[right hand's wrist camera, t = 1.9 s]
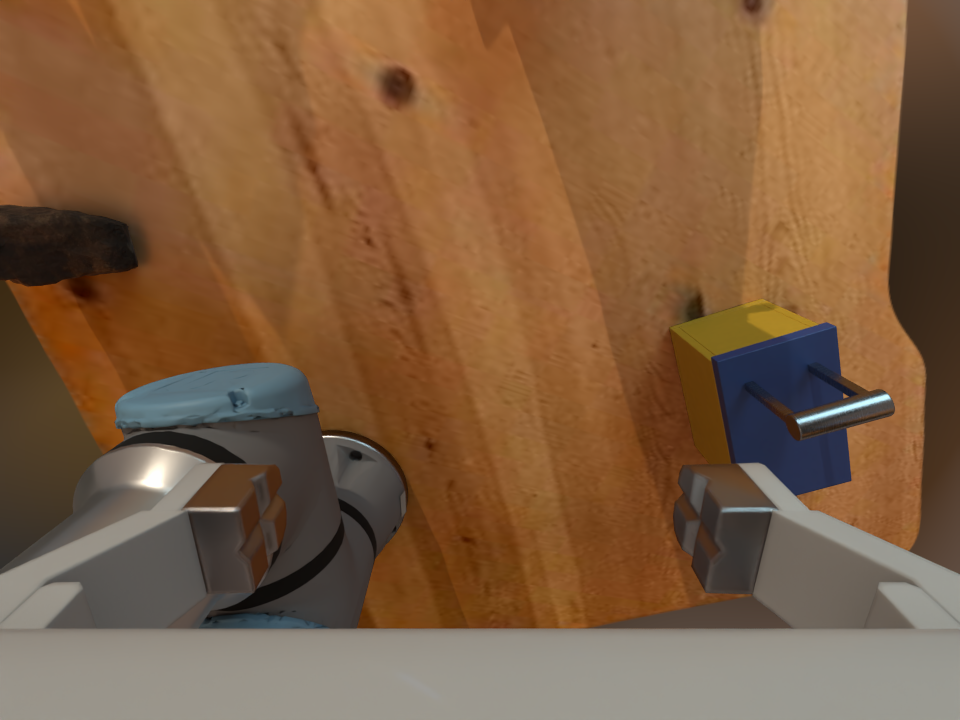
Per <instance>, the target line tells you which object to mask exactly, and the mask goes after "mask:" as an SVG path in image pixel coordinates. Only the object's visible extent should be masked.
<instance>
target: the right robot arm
mask: <svg viewBox="0 0 960 720" xmlns="http://www.w3.org/2000/svg"><path fill="white" fill-rule="evenodd" d="M281 484H282V479H281V474H280V469H279V468H278V467H277V466H276V465H275V464H242V463H226V464H225V463H201V464H196V465H195V466H194V467H193V468H192V469H191V470H190V471H189V472H188V473H187V474H186V475H185V476H184V477H183V478H182V479H181V480H180V481H179V482H178V483H177V484H176V485H175V486H174V487H173V488H172V489H171V490H170V491H169V492H168V493H167V494H166V495H165V496H164V497H163V498H162V499H161V500H160V501H159V502H158V503H157V504H156V505H155V506H154V507H153V508H152V509H151V510H150V511H140V512H138V513H136V514H133V515H131V516H129V517H127V518H124V519H122V520H120V521H118V522H116V523H113V524H111V525H109V526H107V527H104V528H102V529H100V530H98V531H95V532H93V533H91V534H89V535H87V536H84V537H82V538H80V539H78V540H75V541H73V542H71V543H69V544H67V545H64V546H62V547H60V548H58V549H55V550H53V551H51V552H49V553H47V554H44V555H42V556H40V557H38V558H35V559H33V560H31V561H29V562H27V563H24V564H22V565H20V566H18V567H15V568H13V569H11V570H9V571H6V572H4V573H2V574H0V720H960V574H958V573H955V572H953V571H951V570H949V569H946V568H944V567H942V566H940V565H938V564H935V563H933V562H931V561H929V560H926V559H924V558H922V557H920V556H918V555H915V554H913V553H911V552H909V551H907V550H904V549H902V548H900V547H898V546H895V545H893V544H891V543H889V542H887V541H884V540H882V539H880V538H878V537H875V536H873V535H871V534H869V533H867V532H864V531H862V530H860V529H858V528H856V527H853V526H851V525H849V524H847V523H844V522H842V521H840V520H838V519H836V518H833V517H831V516H829V515H827V514H824V513H822V512H820V511H810V510H809V509H808V508H807V507H806V506H805V505H804V504H803V503H802V502H801V501H800V500H799V499H798V498H797V497H796V496H795V495H794V494H793V493H792V492H791V491H790V490H789V489H788V488H787V487H786V486H785V485H784V484H783V483H782V482H781V481H780V480H779V479H778V478H777V477H776V476H775V475H774V474H773V473H772V472H771V471H770V470H769V469H768V468H767V467H766V466H765V465H763V464H760V463H736V464H699V465H683V466H682V468H681V470H680V473H679V479H678V484H679V486H680V488H681V489H682V491H683V492H684V493H683V494H682V495H681V496H680V497H679V498H678V499H677V500H676V501H675V504H674V513H673V521H674V531H675V534H676V537H677V540H678V542H679V544H680V546H681V548H682V550H684V551H685V552H687V553H688V554H690V555H691V556H693V559H692V565H691V567H692V569H693V570H694V572H695V574H696V576H697V578H698V579H699V581H700V583H701V585H702V587H703V588H704V590H705V592H706V593H728V594H753V597H754V598H755V599H756V600H758V601H759V602H760V603H762V604H763V605H764V606H765V607H767V608H768V609H769V610H770V611H772V612H773V613H774V614H775V615H777V616H778V617H779V618H780V619H782V620H783V621H784V622H786V623H787V624H788V625H789V626H791V627H792V628H793V629H167V628H168V627H170V626H171V625H172V624H173V623H175V622H176V621H177V620H178V619H180V618H181V617H182V616H183V615H185V614H186V613H187V612H189V611H190V610H191V609H192V608H194V607H195V606H196V605H197V604H199V603H200V602H201V601H202V600H204V599H205V598H206V597H207V594H231V593H254V592H255V590H256V589H257V587H258V585H259V583H260V581H261V579H262V578H263V576H264V574H265V572H266V570H267V569H268V567H269V565H268V559H267V556H269V555H270V554H272V553H273V552H275V551H276V550H278V548H279V546H280V544H281V542H282V540H283V537H284V533H285V529H286V525H287V511H286V504H285V501H284V500H283V499H282V498H281V497H280V496H279V495H278V494H277V493H276V492H277V491H278V489H279V488H280V486H281Z"/></svg>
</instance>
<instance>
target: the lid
mask: <svg viewBox="0 0 960 720" xmlns="http://www.w3.org/2000/svg"><path fill="white" fill-rule="evenodd" d="M711 361H712V366H713V371H714V377H715V382H716V387H717V392H718V398H719V403H720V408H721V413H722V418H723V424H724V429H725V434H726V439H727V445H728V450H729V455H730V460H731V464H736V463H760V464H763V465H765V466H766V467H767V468H768V469H769V470H770V471H771V472H772V473H773V474H774V475H775V476H776V477H777V478H778V479H779V480H780V481H781V482H782V483H783V484H784V485H785V486H786V487H787V488H788V489H789V490H790V491H791V492H792V493H793V494H794V495H795V496H796V495H800V494H804V493H808V492H811V491H815V490H819V489H823V488H826V487H830V486H834V485H838V484H841V483H845V482H849V481H851V471H850V461H849V451H848V440H847V430H846V428H849V427H853V426H856V425H860V424H864V423H867V422H871V421H874V420H878V419H882V418H885V417H889V416H892V415H893V414H894V411H895V407H894V403H893V401H892V399H891V397H890V396H889V395H888V394H887V393H886V392H885V391H883V390H881V389H876V390H873V391H867V390H865V389H863V388H862V387H860V386H858V385H856V384H855V383H853V382H851V381H849V380H847V379H846V378H844V377H842V376H841V369H840V359H839V349H838V339H837V329H836V326H834V325H832V324H829V323H827V322H826V323H822V324H819V325H816V326H812V327H809V328H806V329H802V330H799V331H796V332H793V333H789V334H786V335H783V336H779V337H776V338H773V339H769V340H766V341H763V342H759V343H756V344H753V345H749V346H746V347H743V348H739V349H736V350H733V351H729V352H726V353H723V354H719V355H716V356H713V357H711ZM843 393H844V394H846V395H848V396H849V397H848V398H844V399H843Z"/></svg>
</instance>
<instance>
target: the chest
mask: <svg viewBox="0 0 960 720" xmlns="http://www.w3.org/2000/svg"><path fill="white" fill-rule="evenodd" d="M816 325H819V324H817V323H815V322H813V321H811V320H808V319H806V318H804V317H802V316H799V315H797V314H795V313H793V312H790V311H788V310H786V309H784V308H781V307H779V306H777V305H775V304H772V303H770V302H768V301H765V300H764V299H759V300H756V301H753V302H750V303H746V304H743V305H740V306H737V307H734V308H730V309H727V310H724V311H721V312H717V313H714V314H711V315H708V316H705V317H701V318H698V319H695V320H692V321H688V322H685V323H682V324H679V325H676V326H672V327H669V330H670V334H671V339H672V343H673V348H674V353H675V357H676V362H677V366H678V371H679V376H680V380H681V385H682V389H683V394H684V399H685V403H686V408H687V412H688V417H689V422H690V426H691V431H692V435H693V440H694V445H695V447H696V448H697V449H698V450H699V452H700V453H701V454H702V455H703V457H704V458H705V459H706V461H707V462H708V463H709V464H731V460H730V455H729V450H728V445H727V439H726V434H725V429H724V424H723V418H722V413H721V408H720V403H719V398H718V392H717V387H716V382H715V377H714V371H713V366H712V361H711V357H713V356H716V355H719V354H723V353H726V352H729V351H733V350H736V349H739V348H743V347H746V346H749V345H753V344H756V343H759V342H763V341H766V340H769V339H773V338H776V337H779V336H783V335H786V334H789V333H793V332H796V331H799V330H802V329H806V328H809V327H812V326H816Z"/></svg>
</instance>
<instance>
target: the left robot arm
mask: <svg viewBox="0 0 960 720" xmlns="http://www.w3.org/2000/svg"><path fill="white" fill-rule="evenodd" d="M115 411H116V416H117V419H116V421H115V424H116V428H117V429H121V430H122V432H123V435H124V441H123V442H121V443H120V444H118V445H117V446H116V447H114V448H113V449H111V450H110V451H108V452H107V453H106V454H104V455H103V456H101V457H100V458H98V459H97V460H96V461H95V462H94V463H93V464H92V465H91V466H89V467H88V468H87V470H86V471H85V472H84V474H83V475H82V476H81V478H80V480H79V482H78V484H77V486H76V490H75V493H74V499H73V514H72V515H71V516H69V517H68V518H67V519H65V520H64V521H63V522H61V523H60V524H59V525H58V526H56V527H55V528H54V529H52V530H51V531H50V532H48V533H47V534H46V535H45V536H43V537H42V538H41V539H39V540H38V541H37V542H36V543H34V544H33V545H32V546H30V547H29V548H28V549H26V550H25V551H24V552H23V553H21V554H20V555H19V556H17V557H16V558H15V559H13V560H12V561H11V562H10V563H8V564H7V565H6V566H4V567H3V568H2V569H0V574H2V573H4V572H6V571H9V570H11V569H13V568H15V567H18V566H20V565H22V564H24V563H27V562H29V561H31V560H33V559H35V558H38V557H40V556H42V555H44V554H47V553H49V552H51V551H53V550H55V549H58V548H60V547H62V546H64V545H67V544H69V543H71V542H73V541H75V540H78V539H80V538H82V537H84V536H87V535H89V534H91V533H93V532H95V531H98V530H100V529H102V528H104V527H107V526H109V525H111V524H113V523H116V522H118V521H120V520H122V519H124V518H127V517H129V516H131V515H133V514H136V513H138V512H140V511H150V510H151V509H152V508H153V507H154V506H155V505H156V504H157V503H158V502H159V501H160V500H161V499H162V498H163V497H164V496H165V495H166V494H167V493H168V492H169V491H170V490H171V489H172V488H173V487H174V486H175V485H176V484H177V483H178V482H179V481H180V480H181V479H182V478H183V477H184V476H185V475H186V474H187V473H188V472H189V471H190V470H191V469H192V468H193V467H194V466H195V465H196V464H201V463H225V464H226V463H242V464H275V465H276V466H277V467H278V468H279V469H280V474H281V479H282V484H281V486H280V488H279V489H278V491H277V492H276V493H277V494H278V495H279V496H280V497H281V498H282V499H283V500H284V501H285V504H286V511H287V525H286V529H285V533H284V537H283V540H282V542H281V544H280V546H279V548H278V550H276V551H275V552H273V553H272V554H270V555H269V556H267V559H268V565H269V567H268V569H267V570H266V572H265V574H264V576H263V578H262V579H261V581H260V583H259V585H258V587H257V589H256V590H255V592H254V593H231V594H207V597H206V598H205V599H204V600H202V601H201V602H200V603H199V604H197V605H196V606H195V607H194V608H192V609H191V610H190V611H189V612H187V613H186V614H185V615H183V616H182V617H181V618H180V619H178V620H177V621H176V622H175V623H173V624H172V625H171V626H170V627H168V628H167V629H357V625H358V621H359V618H360V614H361V610H362V606H363V602H364V599H365V595H366V591H367V587H368V583H369V580H370V576H371V572H372V568H373V564H374V561H375V558H376V557H377V556H378V554H379V553H380V552H381V551H382V550H383V548H384V547H385V545H386V544H387V543H388V542H389V541H390V540H391V539H392V537H393V536H394V535H395V533H396V532H397V530H398V528H399V527H400V525H401V523H402V521H403V518H404V515H405V513H406V506H407V500H408V489H407V483H406V479H405V476H404V474H403V472H402V470H401V468H400V466H399V464H398V463H397V461H396V460H395V459H394V458H393V457H392V455H391V454H390V453H389V452H388V451H386V450H385V449H384V448H383V447H381V446H380V445H379V444H377V443H376V442H374V441H372V440H370V439H368V438H366V437H364V436H361V435H358V434H355V433H351V432H346V431H339V430H326V431H321V427H320V423H319V419H318V415H317V413H318V412H319V407H318V406H317V405H316V404H315V402H314V399H313V396H312V392H311V389H310V386H309V383H308V380H307V378H306V376H305V375H304V374H303V373H302V372H301V371H300V370H298V369H297V368H294V367H292V366H288V365H285V364H280V363H250V364H239V365H230V366H223V367H217V368H211V369H205V370H200V371H195V372H190V373H186V374H181V375H177V376H173V377H170V378H166V379H162V380H159V381H156V382H153V383H150V384H147V385H144V386H141V387H139V388H137V389H134V390H132V391H130V392H128V393H126V394H125V395H124V396H122V397H121V398H120V399H119V400H118V401H117V403H116V405H115Z"/></svg>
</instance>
